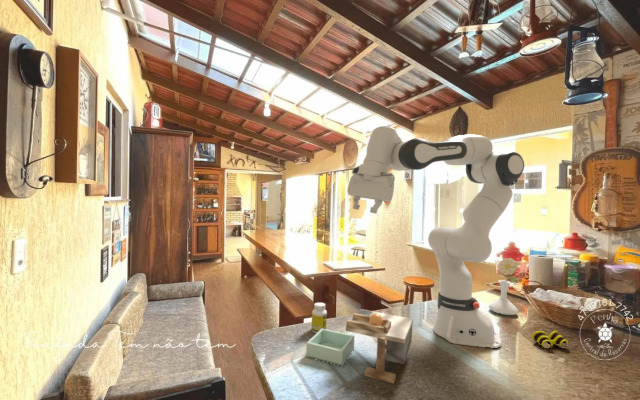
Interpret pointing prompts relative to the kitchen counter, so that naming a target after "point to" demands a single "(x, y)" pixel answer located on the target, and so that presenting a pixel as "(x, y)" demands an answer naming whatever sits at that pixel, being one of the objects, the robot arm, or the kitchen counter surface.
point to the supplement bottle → (319, 317)
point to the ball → (376, 319)
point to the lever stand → (381, 363)
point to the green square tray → (330, 346)
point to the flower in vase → (505, 288)
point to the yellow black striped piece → (548, 338)
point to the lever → (385, 332)
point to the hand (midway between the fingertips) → (364, 211)
